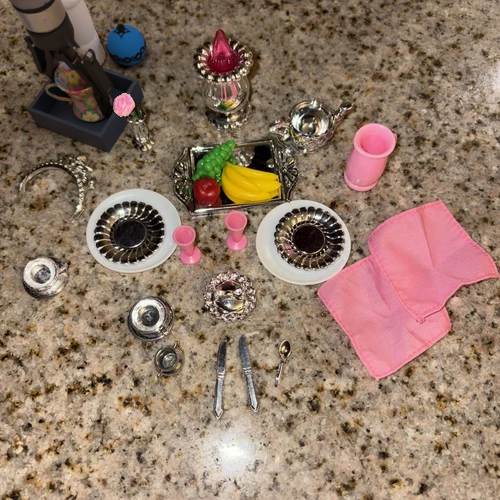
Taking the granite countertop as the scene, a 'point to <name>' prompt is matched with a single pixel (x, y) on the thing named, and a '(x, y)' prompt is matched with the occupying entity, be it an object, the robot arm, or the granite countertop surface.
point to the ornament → (125, 45)
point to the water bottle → (84, 28)
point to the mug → (77, 93)
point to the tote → (68, 124)
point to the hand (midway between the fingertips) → (88, 104)
